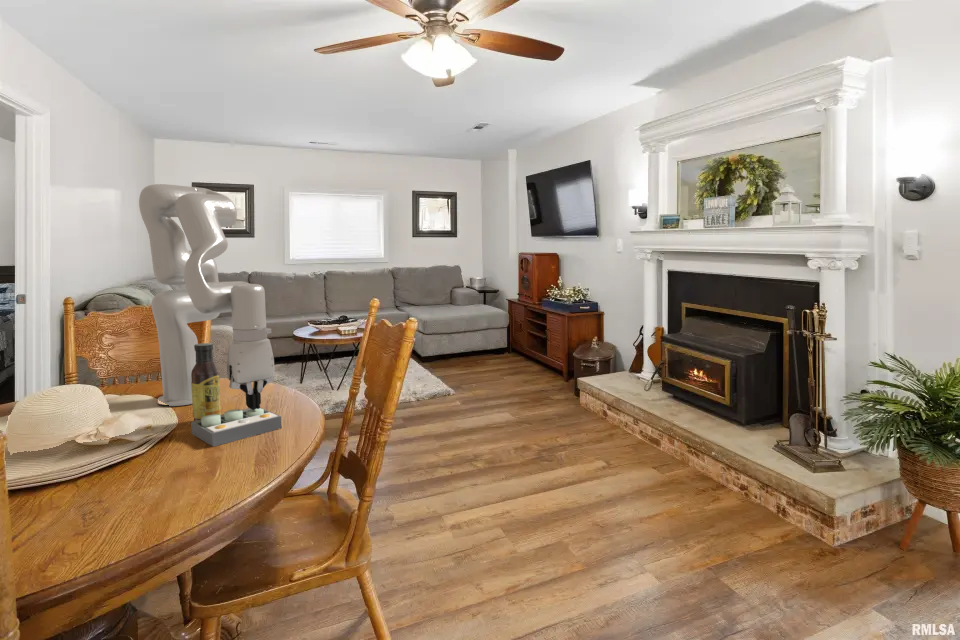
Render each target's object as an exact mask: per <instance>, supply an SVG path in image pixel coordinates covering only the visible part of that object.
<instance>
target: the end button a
mask: <svg viewBox="0 0 960 640" xmlns="http://www.w3.org/2000/svg"><path fill="white" fill-rule="evenodd" d="M201 422H202V427H204V428H207V427H211V426H215V425H219V424H221V416H220V415H216V414H214V415H207V416H204V417H202V418H201Z"/></svg>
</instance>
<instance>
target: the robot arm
mask: <svg viewBox="0 0 960 640" xmlns="http://www.w3.org/2000/svg"><path fill="white" fill-rule="evenodd" d="M138 208H139V212H140V216H141V219H142V222H143V224H144V225H145V228H146V231H147V233H148V238H149V246H150V252H151V253H150V254H151V262H152V269H153V274H154V277H155V280H156V281H157V282H158V283H159V284H160V285H161V284H162V285H165V286H166V285H167V286H177V285H178V286H179V285H180V286H181V285H184V286H185V288H182V289H170V290H164V291H160V292H158V293H157V294H155V295H154V296H153V298H152V300H151V303H150V304H151V305H150V306H151V312H152V315H153V318H154V322H155V326H156V330H157V331H156V333H157V339H158V351H159V359H160V360H159V361H160V370H161V371H160V372H161V383H162V395H161V396H159V397H158V398H157V400H159V401H161V402H163V403H165V404H167V405H169V406H168V407H180V406H188V405H189V406H190V405H192V387H191V382H192V377H191V373H192V370H193V368H194V366H195V364H196V351H195V348H194V345H195V344H199V341H198V338H197V335H196V333H195V332H194V330H192V329H191V328H190V326H189V325H188V324H190V323H197V322H205V321H206V322H207V321H213V320H215V319H217V318H218V317H219V316H220V314H224V313H231V319H232V321H231V323H232V324H231V325H232V340H231V341H229V343H228V349H227V359H226V360H227V361H226V373H227V374H226V378H227V380H229V388H230V389H233V390H241V391H242V392H244V394H245V405H246V406H247V409H248V408H250V409H252V410H255V409H259V408H261V407H260V406H261V404H262V397H261V393H262V392H263V389H264V388H265V386H267V384H270V383H272V382H274V381H275V377H274V375H275V371H276V370H275V358H274V354H273V348H272V343H271V340H270V338H268V335H269V334H272V328H271V327H268V326H267V315H266V314H267V312H266V311H267V310H266V292H265V288H264V286H263V285H262V284H258V283H250V282H246V281H240V280H239V281H238V280H237V281H235V280H234V281H220V280H219V273H218V272H219V271H218V267H217V263H216V260H215V258H217V257H219V256H221V255H222V254H224V253H225V252H226V251H227V250H228V246H229V244H228V240H227V237H226V236H225V233H224V231H223V228H229V227H232V226H233V225H234V224H235V223H236V221H237V218H238V211H237V207H236V205H235V204H234V202H233V200H231V198H229V196H227V195H224V194H222V193H219V192H217V191H214V190H211V189H208V188H204V187H199V186H198V187H196V186H186V185H178V184H177V185H176V184H161V183H160V184H159V183H157V184H150V185H147V186H145V187H143V189H141V191H140V193H139V199H138ZM173 218H178V220H179V223H180V226H179V225H178V223H177V222H176V221H175V220H174V219H173ZM181 227H182V228H181ZM186 239H187V242H188V245H189V247H190V249H191V250H188V248H187V245H186ZM157 400H156V401H157Z"/></svg>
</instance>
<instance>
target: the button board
mask: <svg viewBox="0 0 960 640" xmlns="http://www.w3.org/2000/svg"><path fill="white" fill-rule="evenodd" d="M260 408H261V409H264V414H260V415H256V416H252V417H249V416H247V415H246V411H247V410H250V408H248V407H247V408H244V409H241V410H242V411H243V419H240V420H235V421H231V422H226V421H225V417H224V413H223V414H222V413H221V415H220V416H221V424H219V425H215V426H211V427H207V428H204V427H202V422H201V420H196V421H194V420H192V421H190V425H191V434H192V435H193V436H194V437H196V438H197V439H200V440H202V441H203V442H205V443H206V444H208V445H209V446H211V447H217V446H222V445H225V444H228V443H233V442H235V441H240V440H244V439H247V438H251V437H254V436H259V435H262V434H265V433H268V432H273V431H276V429H277V430H280V429H279V428H281V429H282V416H281V415H278V414H277V413H275V412H272V411H269V410H267V409H265V408H262V407H260Z"/></svg>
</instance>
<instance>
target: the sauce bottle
mask: <svg viewBox="0 0 960 640" xmlns="http://www.w3.org/2000/svg"><path fill="white" fill-rule="evenodd" d="M194 348H195V351H196V364H195V366H194V368H193V370H192V373H191V377H192V382H191V387H192V404H191V405H192V417H193V421H196V420H201V418H202V417H204V416H207V415H214V414H216V415H222V410H221V408H222V406H221V389H220V388H221V385H220V374H219V373H218V369H217V367H216V365H215V362H214V358H213V357H214V355H213V350H214V345H213V343H211V342H203V343H198V344H195V345H194Z"/></svg>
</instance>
